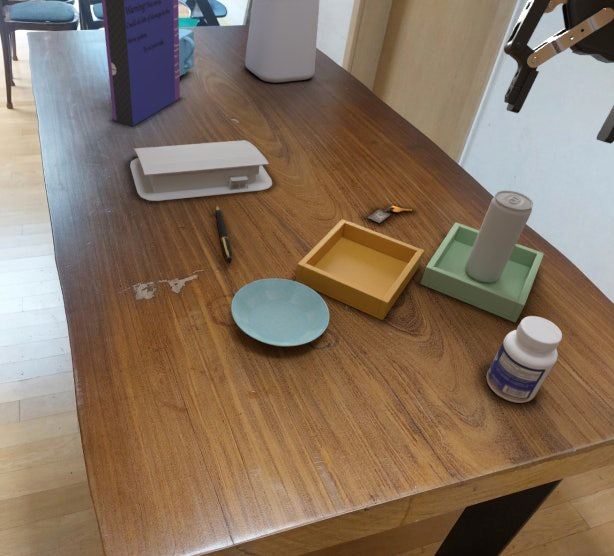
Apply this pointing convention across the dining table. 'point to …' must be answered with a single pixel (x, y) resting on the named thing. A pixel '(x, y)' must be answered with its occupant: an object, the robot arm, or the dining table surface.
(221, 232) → the fountain pen
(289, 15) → the plastic bottle
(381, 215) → the key tag
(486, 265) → the beverage can
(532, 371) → the pill bottle
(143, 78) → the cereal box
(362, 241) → the ochre tray
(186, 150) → the white plastic case
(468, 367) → the dining table surface
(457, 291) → the sage tray
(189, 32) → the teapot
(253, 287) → the saucer
